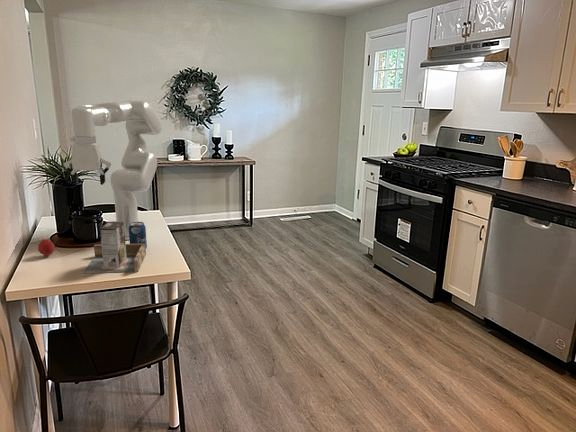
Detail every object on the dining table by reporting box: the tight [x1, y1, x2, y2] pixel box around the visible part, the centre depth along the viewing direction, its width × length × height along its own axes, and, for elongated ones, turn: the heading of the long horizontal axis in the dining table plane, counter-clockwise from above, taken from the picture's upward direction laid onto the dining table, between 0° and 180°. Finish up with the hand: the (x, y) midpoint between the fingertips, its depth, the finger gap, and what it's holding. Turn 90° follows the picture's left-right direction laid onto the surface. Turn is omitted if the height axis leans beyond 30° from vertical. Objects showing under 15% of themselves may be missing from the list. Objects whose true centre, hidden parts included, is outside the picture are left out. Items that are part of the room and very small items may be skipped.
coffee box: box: [99, 220, 127, 268], centre depth 165 cm, size 9×6×16 cm
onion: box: [37, 237, 55, 258], centre depth 172 cm, size 6×6×8 cm
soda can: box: [128, 221, 148, 249], centre depth 182 cm, size 7×7×12 cm
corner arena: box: [81, 243, 147, 275], centre depth 168 cm, size 18×20×5 cm
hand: (89, 184), depth 168 cm, fingers open, 9 cm apart
